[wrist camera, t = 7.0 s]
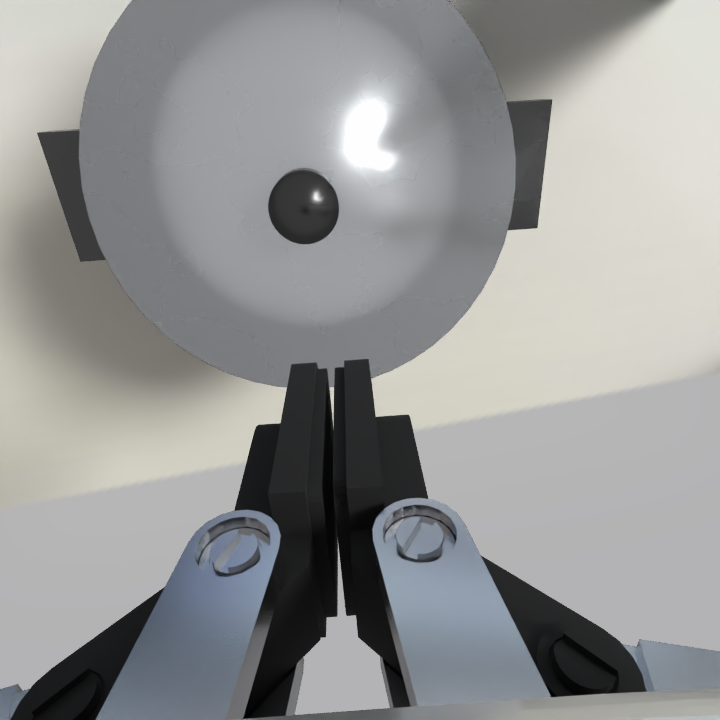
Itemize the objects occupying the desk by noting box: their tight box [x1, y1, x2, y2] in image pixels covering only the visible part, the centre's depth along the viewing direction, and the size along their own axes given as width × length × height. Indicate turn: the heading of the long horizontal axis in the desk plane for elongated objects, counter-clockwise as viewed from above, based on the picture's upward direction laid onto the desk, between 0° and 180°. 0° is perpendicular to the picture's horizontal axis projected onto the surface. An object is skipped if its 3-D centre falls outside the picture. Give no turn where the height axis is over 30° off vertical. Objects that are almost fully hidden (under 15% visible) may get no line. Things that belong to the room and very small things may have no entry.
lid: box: [79, 0, 516, 387], centre depth 18 cm, size 16×16×3 cm
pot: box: [37, 99, 552, 262], centre depth 23 cm, size 20×16×9 cm
